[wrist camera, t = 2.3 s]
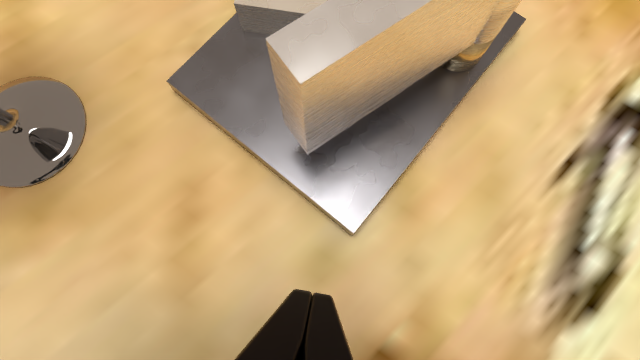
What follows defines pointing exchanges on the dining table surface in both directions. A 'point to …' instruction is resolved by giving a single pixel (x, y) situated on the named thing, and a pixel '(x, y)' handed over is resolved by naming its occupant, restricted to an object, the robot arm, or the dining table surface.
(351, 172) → the base
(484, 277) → the dining table surface
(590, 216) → the dining table surface
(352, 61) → the swing bar
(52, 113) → the wine glass
